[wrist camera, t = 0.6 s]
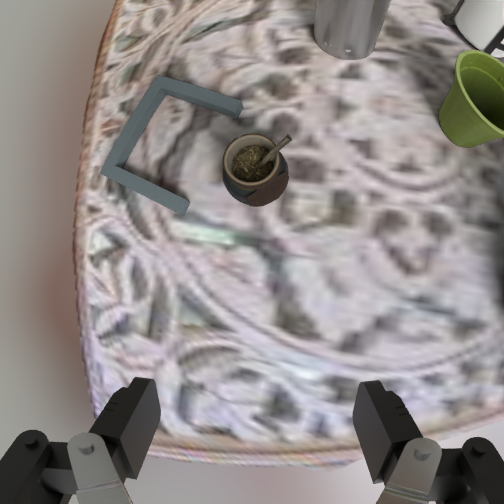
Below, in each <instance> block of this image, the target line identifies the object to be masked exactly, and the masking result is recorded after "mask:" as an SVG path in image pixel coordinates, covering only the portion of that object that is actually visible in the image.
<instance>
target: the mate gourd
mask: <svg viewBox="0 0 504 504" xmlns="http://www.w3.org/2000/svg"><path fill="white" fill-rule="evenodd" d="M290 141H292V139H291V137H290V135H287V136H286V137H285V138H284V139H283V140H282V141H281V142H280V143H279V144H278V145H277V146H276V145H275V143H274V142H273V141H272V140H270V139H269V138H268V137H266V136H263V135H260V134H245V135H242V136H241V137H240V138H236V139H235V138H234V140H233V141H232V142H231V143H230V144H229V145H228V147H227V148H226V150H225V153H224V156H223V181H224V184H225V186H226V188H227V190H228V192H229V193H230V194H231V195H232V196H233V197H234V198H235V199H237V200H238V201H240V202H242V203H244V204H247V205H250V206H254V207H259V206H264V205H266V204H268V203H270V202H272V201H274V200H276V199H277V198H279V197H280V196H281V194H282V193H283V192H284V190H285V188H286V186H287V184H288V180H289V176H288V166H287V163H286V161H285V159H284V157H283V155H282V154H281V153H280V152H279V150H280V149H282V148H283V147H284V146H285V145H286V144H288V143H289V142H290Z"/></svg>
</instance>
